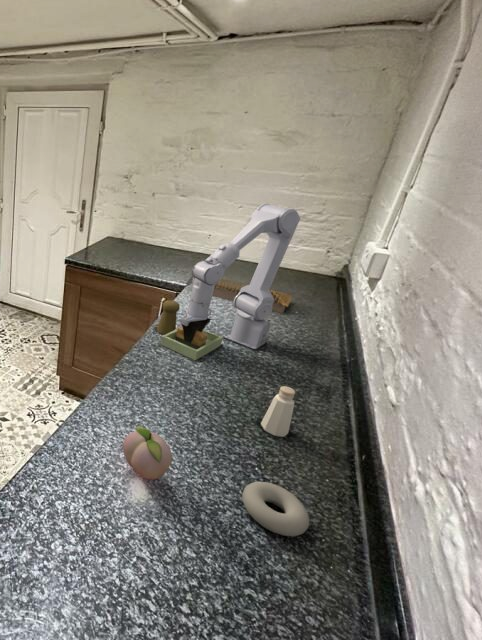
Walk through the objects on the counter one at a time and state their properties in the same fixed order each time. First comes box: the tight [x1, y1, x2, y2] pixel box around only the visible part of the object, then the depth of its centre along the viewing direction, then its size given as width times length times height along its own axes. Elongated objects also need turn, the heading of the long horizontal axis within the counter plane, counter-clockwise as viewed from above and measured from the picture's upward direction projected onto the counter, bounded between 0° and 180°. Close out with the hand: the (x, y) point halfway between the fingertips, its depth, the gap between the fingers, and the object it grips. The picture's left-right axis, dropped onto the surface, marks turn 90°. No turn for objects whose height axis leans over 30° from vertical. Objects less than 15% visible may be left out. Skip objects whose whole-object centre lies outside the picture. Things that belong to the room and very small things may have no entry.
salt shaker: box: [260, 385, 296, 438], centre depth 89 cm, size 5×5×11 cm
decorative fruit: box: [122, 426, 173, 480], centre depth 77 cm, size 9×8×10 cm
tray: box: [160, 328, 224, 361], centre depth 126 cm, size 12×16×3 cm
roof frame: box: [190, 278, 294, 314], centre depth 165 cm, size 35×14×6 cm, turn 48°
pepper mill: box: [156, 299, 180, 335], centre depth 133 cm, size 6×6×11 cm
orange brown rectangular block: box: [175, 325, 208, 350], centre depth 126 cm, size 8×4×4 cm, turn 37°
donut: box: [241, 481, 310, 537], centre depth 70 cm, size 10×4×10 cm
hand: (191, 339), depth 126 cm, fingers closed on orange brown rectangular block, 3 cm apart
